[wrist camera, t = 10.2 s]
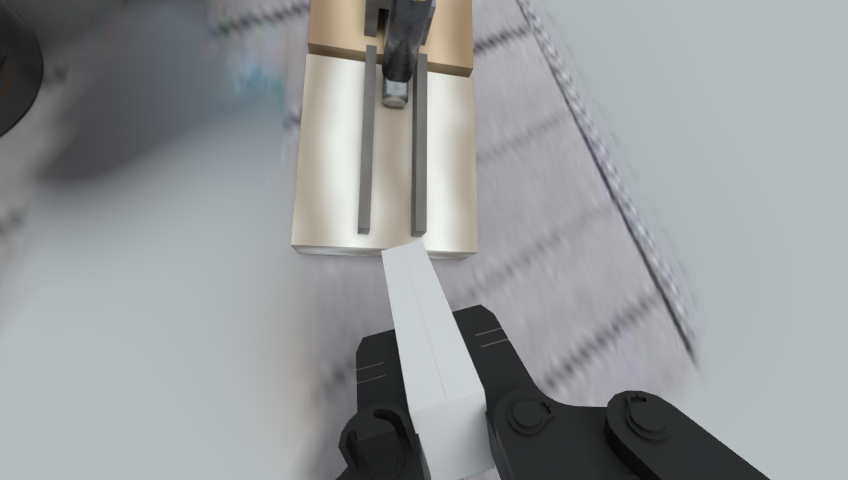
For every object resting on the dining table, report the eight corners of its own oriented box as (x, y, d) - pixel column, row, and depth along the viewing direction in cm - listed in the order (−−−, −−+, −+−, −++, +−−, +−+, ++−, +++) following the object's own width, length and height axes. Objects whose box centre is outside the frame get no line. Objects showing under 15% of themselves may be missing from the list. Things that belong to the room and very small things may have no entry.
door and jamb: (298, 253, 28) (279, 232, 21) (319, -3, 33) (310, -97, 26) (462, 259, 31) (499, 243, 23) (458, 22, 36) (487, -55, 28)
